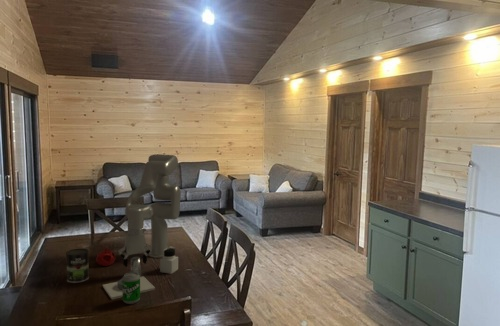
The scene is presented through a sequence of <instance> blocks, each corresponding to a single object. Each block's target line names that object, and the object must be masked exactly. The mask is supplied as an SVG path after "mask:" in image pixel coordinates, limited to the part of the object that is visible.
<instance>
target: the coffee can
mask: <svg viewBox="0 0 500 326" xmlns="http://www.w3.org/2000/svg"><path fill="white" fill-rule="evenodd" d="M65 256H66V258H65V259H66V282H67V283H70V284H79V283H83V282H86V281H88V280H89V279H90V276H89V275H90V273H89V272H90V270H89V266H90V265H89V249H86V248H74V249H70V250H68V251H66V252H65Z"/></svg>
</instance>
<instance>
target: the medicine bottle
mask: <svg viewBox="0 0 500 326" xmlns="http://www.w3.org/2000/svg"><path fill="white" fill-rule="evenodd" d="M178 270H179V256H176V248H175V249H173V248H166V249H164V250H163V257H162V258H159V272H160V273H163V274H164V273H166V274H170V275H172V274H173V273H175V272H176V271H178Z"/></svg>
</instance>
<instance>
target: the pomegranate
mask: <svg viewBox="0 0 500 326" xmlns="http://www.w3.org/2000/svg"><path fill="white" fill-rule="evenodd" d="M98 252H99V253H97V255H96V258H95V260H96V263H97V264H98V265H99V266H103V267H108V266H111V265H113V264H114V263H115V260H116V256H115V253H114V251H112V250H111V248H110V249H109V248H108V247H105V248H104V249H102V250H100V251H98Z"/></svg>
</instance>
